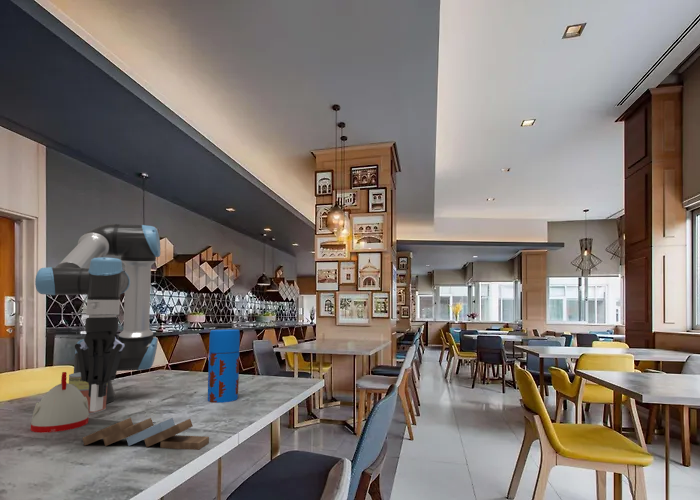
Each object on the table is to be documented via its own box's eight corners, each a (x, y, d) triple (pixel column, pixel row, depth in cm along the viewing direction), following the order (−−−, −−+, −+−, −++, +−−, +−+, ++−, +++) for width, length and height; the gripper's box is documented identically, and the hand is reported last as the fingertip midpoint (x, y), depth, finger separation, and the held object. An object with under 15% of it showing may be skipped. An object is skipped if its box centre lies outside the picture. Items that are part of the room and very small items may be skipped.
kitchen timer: (86, 416, 131) (89, 367, 133) (90, 426, 120) (94, 372, 122) (30, 424, 123) (35, 372, 125) (30, 436, 112) (35, 378, 114)
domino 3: (126, 438, 103) (160, 423, 102) (140, 431, 108) (172, 417, 107) (128, 446, 103) (162, 431, 102) (142, 439, 108) (175, 425, 106)
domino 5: (160, 441, 102) (198, 443, 100) (172, 435, 107) (209, 436, 105) (160, 450, 101) (198, 451, 100) (171, 443, 106) (208, 445, 105)
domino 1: (82, 437, 104) (118, 422, 103) (95, 431, 109) (130, 417, 108) (84, 445, 103) (121, 430, 103) (98, 439, 108) (133, 424, 108)
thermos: (226, 395, 161) (228, 329, 165) (244, 398, 155) (245, 329, 158) (201, 400, 153) (204, 330, 156) (218, 404, 146) (220, 331, 150)
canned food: (58, 412, 136) (61, 374, 138) (93, 405, 146) (95, 370, 148) (78, 416, 131) (81, 377, 133) (113, 408, 141) (115, 372, 143)
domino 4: (144, 439, 102) (178, 424, 101) (157, 432, 107) (190, 418, 106) (146, 447, 102) (180, 432, 100) (159, 440, 107) (192, 426, 105)
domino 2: (103, 438, 103) (140, 422, 103) (115, 432, 108) (151, 417, 108) (105, 446, 103) (142, 430, 103) (117, 439, 108) (153, 425, 108)
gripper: (68, 317, 107) (61, 413, 104) (116, 316, 106) (110, 414, 102) (89, 316, 114) (83, 406, 111) (134, 316, 113) (129, 407, 110)
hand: (96, 410), depth 107 cm, fingers closed
